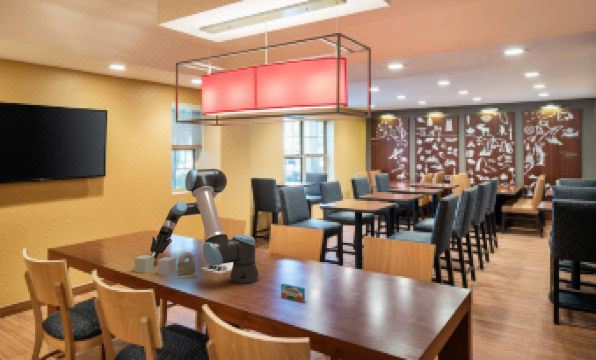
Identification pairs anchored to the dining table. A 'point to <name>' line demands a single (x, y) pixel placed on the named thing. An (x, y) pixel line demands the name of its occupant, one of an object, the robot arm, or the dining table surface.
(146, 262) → the sage block
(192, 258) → the donut
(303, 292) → the flat green printed box
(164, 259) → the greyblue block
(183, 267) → the card
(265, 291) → the dining table surface
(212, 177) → the robot arm
